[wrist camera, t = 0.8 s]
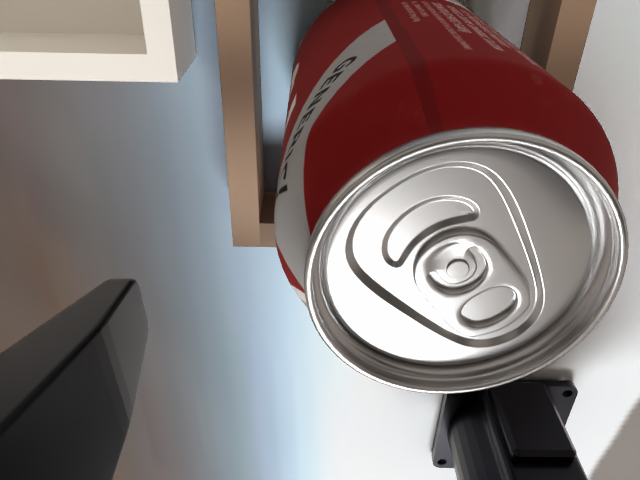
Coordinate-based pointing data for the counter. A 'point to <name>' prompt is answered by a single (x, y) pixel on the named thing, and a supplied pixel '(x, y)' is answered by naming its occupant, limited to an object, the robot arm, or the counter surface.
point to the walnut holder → (246, 108)
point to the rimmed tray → (96, 40)
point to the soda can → (442, 199)
